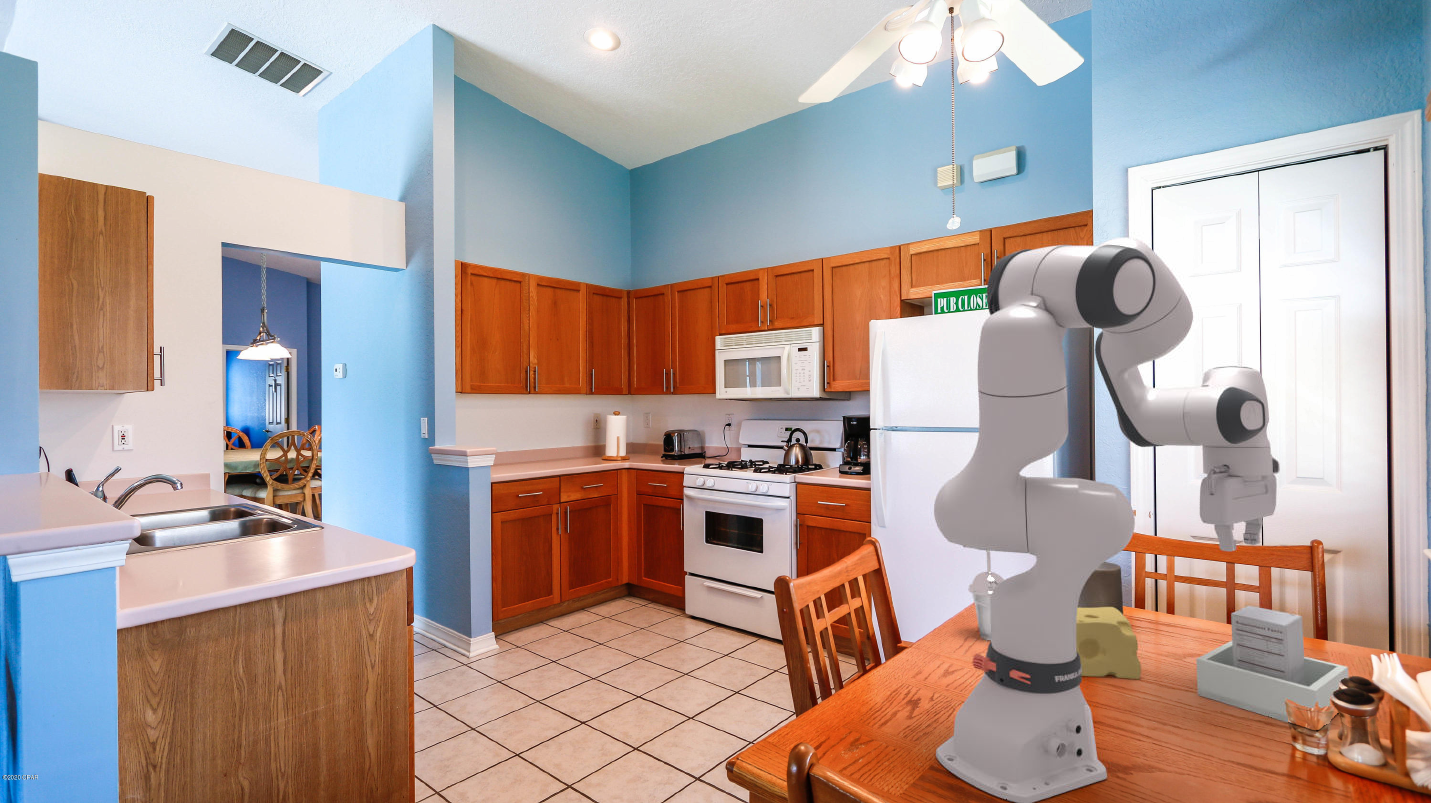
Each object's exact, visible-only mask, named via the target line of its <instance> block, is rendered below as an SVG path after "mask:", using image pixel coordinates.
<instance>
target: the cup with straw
mask: <svg viewBox="0 0 1431 803" xmlns="http://www.w3.org/2000/svg"><path fill="white" fill-rule="evenodd" d="M963 548H965V549H966V548H968V549H971V548H970V547H966V546H963ZM972 549H974V548H972ZM974 550H975V549H974ZM985 552H986V569H987V570H986V571H983V572H980V573H978V574H976V575H975V577H974V578H973V580H972V582H971V583H970V585H969V586H968V592H969V593H971V594H972V599H973V603H974V606H975V612H976V618H977V625H978V627H977V628H978V631H979V633H980V634H979V637H980V638H981V639H983V640H986V641H990V642H991V620H990V596H991V593H992V591H993V589H994V588H995V587H996V586H997V585H998V584H999V583H1000V582H1002V581H1004V580H1005V579H1004V578H1003V577H1002V576H1001V575H1000V574H998V573H996V572H993V571H992V566H991V565H992V564H991V551H987V550H985Z"/></svg>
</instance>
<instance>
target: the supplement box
mask: <svg viewBox="0 0 1431 803" xmlns="http://www.w3.org/2000/svg"><path fill="white" fill-rule="evenodd" d="M1230 614H1231V616H1230V617H1231V618H1230V619H1231V620H1230V621H1231V637H1232V638H1231V641H1232V645H1233V664H1234V667H1237V668H1240V669H1244V670H1248V671H1252V672H1255V673H1259V674H1263V675H1267V676H1270V677H1274V678H1278V679H1282V680H1285V681H1289V682H1293V683H1297V684H1300V685H1304V686H1306V681H1305V663H1304V657H1305V647H1304V630H1303V617H1302V616H1301V615H1298V614H1293V613H1289V612H1284V611H1278V610H1273V609H1269V608H1268V609H1267V608H1262V607H1257V606H1253V605H1246V606H1244V607H1243V608H1240V609H1238V610H1236V611H1234V612H1231V613H1230Z"/></svg>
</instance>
